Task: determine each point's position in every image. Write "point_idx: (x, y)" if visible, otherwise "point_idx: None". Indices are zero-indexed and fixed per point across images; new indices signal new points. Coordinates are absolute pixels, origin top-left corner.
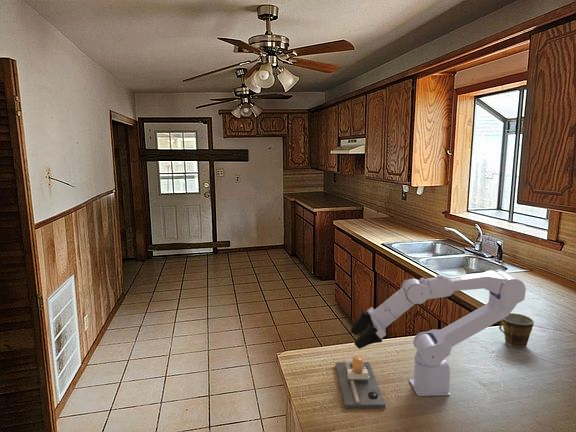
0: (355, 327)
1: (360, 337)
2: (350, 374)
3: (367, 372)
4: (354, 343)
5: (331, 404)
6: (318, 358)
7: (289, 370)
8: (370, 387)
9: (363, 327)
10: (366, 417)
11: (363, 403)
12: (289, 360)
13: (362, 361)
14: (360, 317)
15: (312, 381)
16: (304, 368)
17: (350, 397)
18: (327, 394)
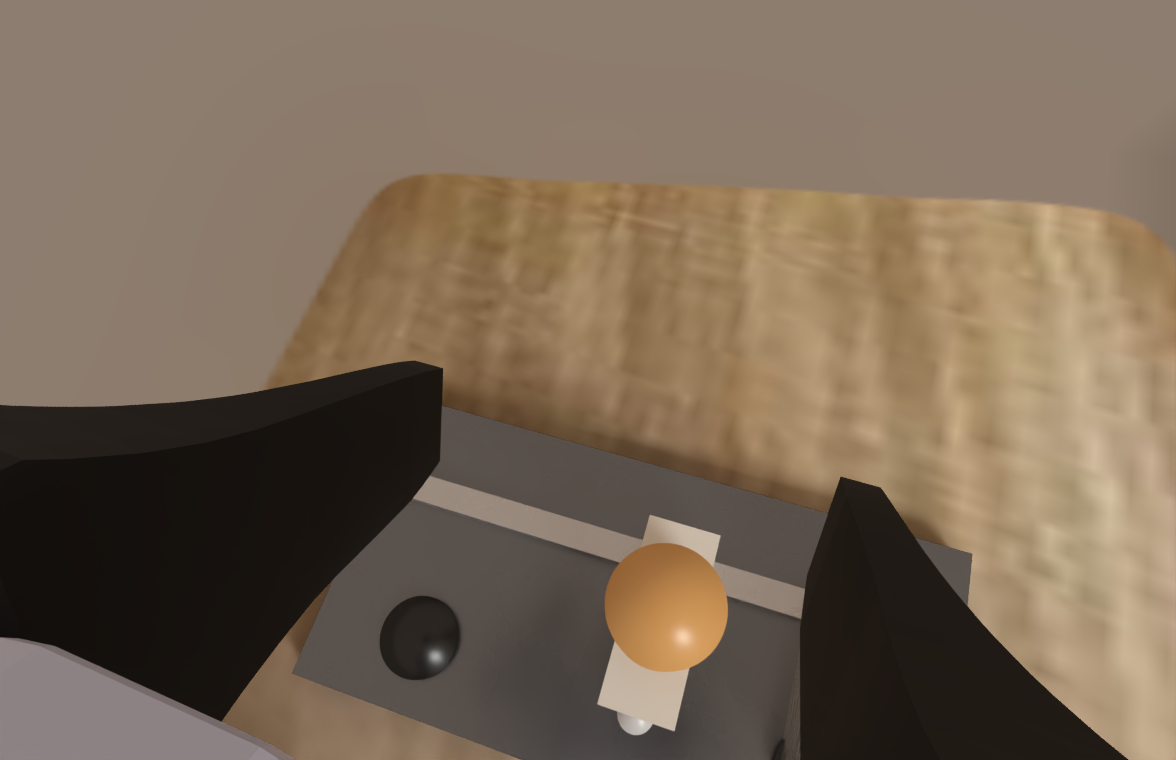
0: (844, 553)
1: (305, 389)
2: (645, 533)
3: (610, 701)
4: (425, 364)
5: (495, 347)
6: (1106, 463)
7: (939, 218)
8: (519, 672)
9: (817, 753)
10: None
11: None
12: (1086, 248)
13: (614, 638)
14: (969, 695)
15: (769, 317)
16: (952, 315)
17: (468, 460)
18: (598, 359)
